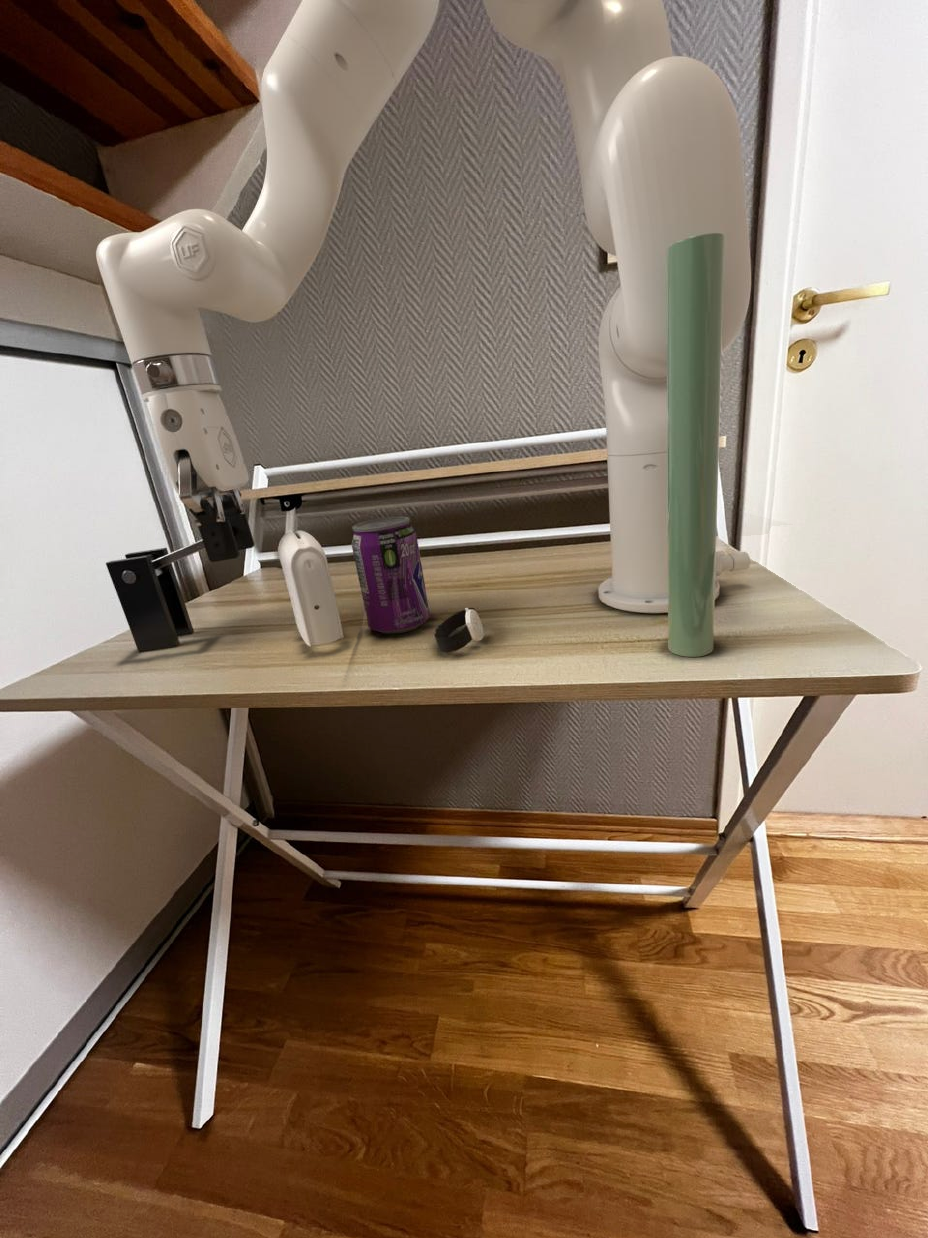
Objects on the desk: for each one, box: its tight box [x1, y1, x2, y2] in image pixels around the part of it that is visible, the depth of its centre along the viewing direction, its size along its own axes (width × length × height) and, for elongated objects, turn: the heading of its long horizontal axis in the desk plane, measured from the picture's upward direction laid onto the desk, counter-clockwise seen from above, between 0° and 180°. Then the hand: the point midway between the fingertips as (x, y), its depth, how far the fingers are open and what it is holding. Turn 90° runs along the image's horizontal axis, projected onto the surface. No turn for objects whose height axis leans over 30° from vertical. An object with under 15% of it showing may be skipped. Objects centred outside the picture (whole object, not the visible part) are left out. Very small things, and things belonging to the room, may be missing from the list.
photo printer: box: [277, 529, 345, 647], centre depth 59 cm, size 10×4×12 cm, turn 25°
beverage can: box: [351, 515, 431, 635], centre depth 59 cm, size 7×7×12 cm
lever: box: [149, 526, 238, 576], centre depth 61 cm, size 13×4×2 cm, turn 95°
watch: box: [434, 607, 484, 654], centre depth 54 cm, size 8×5×4 cm, turn 167°
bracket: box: [105, 547, 195, 654], centre depth 62 cm, size 9×6×12 cm, turn 94°
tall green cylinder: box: [667, 233, 725, 658], centre depth 41 cm, size 4×4×30 cm
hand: (233, 552), depth 61 cm, fingers closed on lever, 4 cm apart
